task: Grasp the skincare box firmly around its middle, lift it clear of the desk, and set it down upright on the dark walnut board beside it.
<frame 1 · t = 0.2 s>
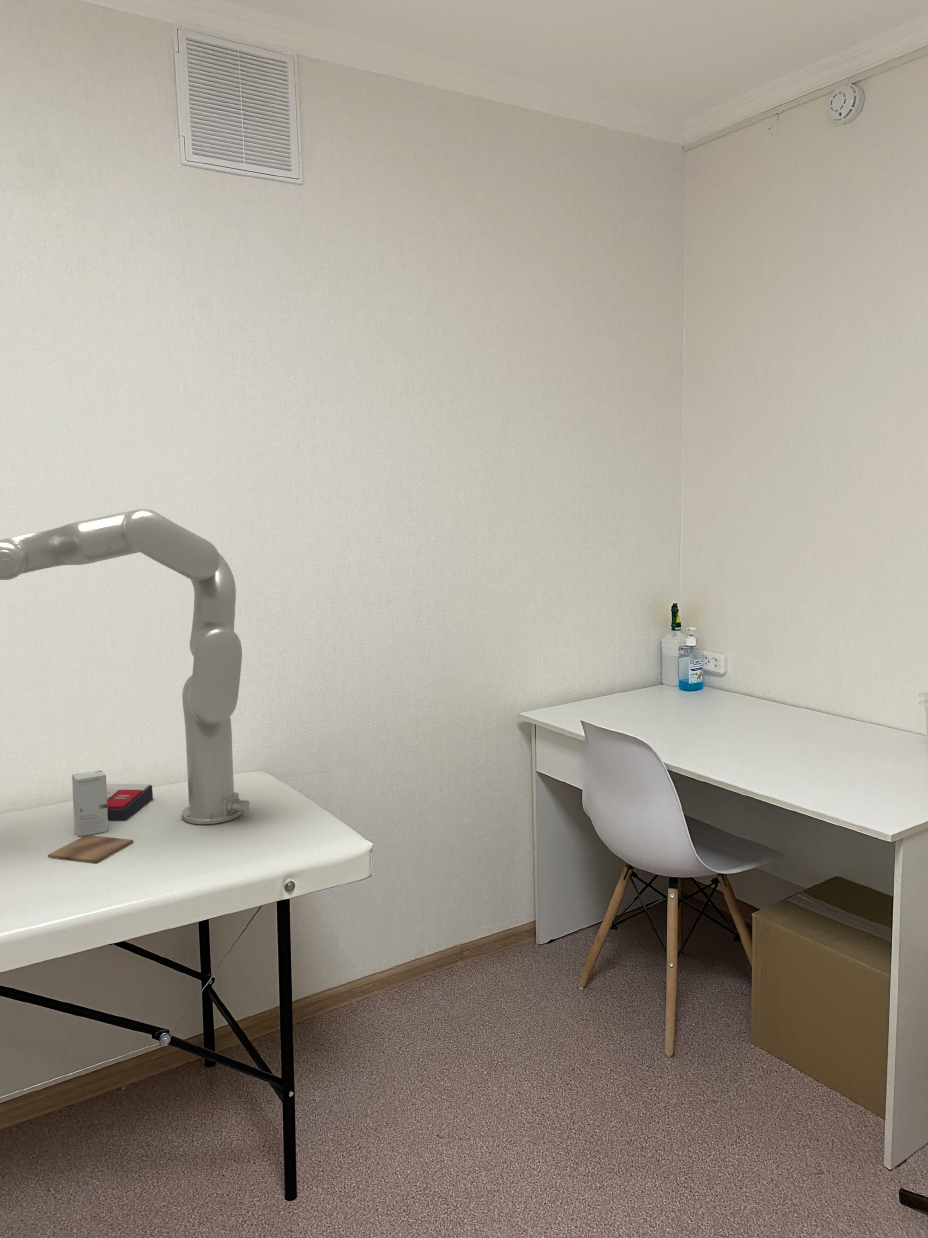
walnut board: (91, 850, 179), on the table
black and red case: (116, 811, 203), on the table
skincare box: (92, 832, 190), on the table
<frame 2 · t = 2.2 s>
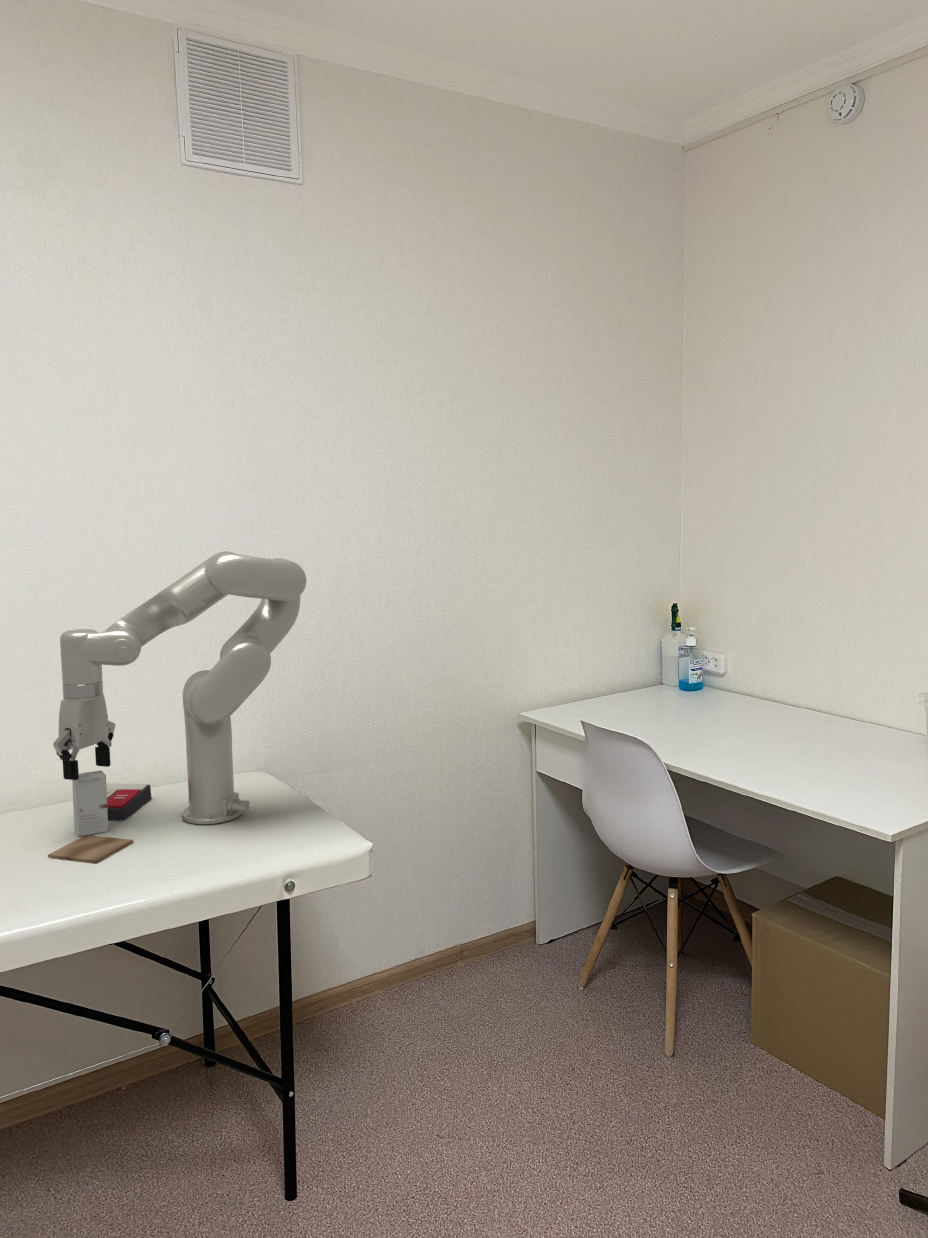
hand: (87, 772, 188), 12 cm above the table, tool pointing down, fingers open, 9 cm apart
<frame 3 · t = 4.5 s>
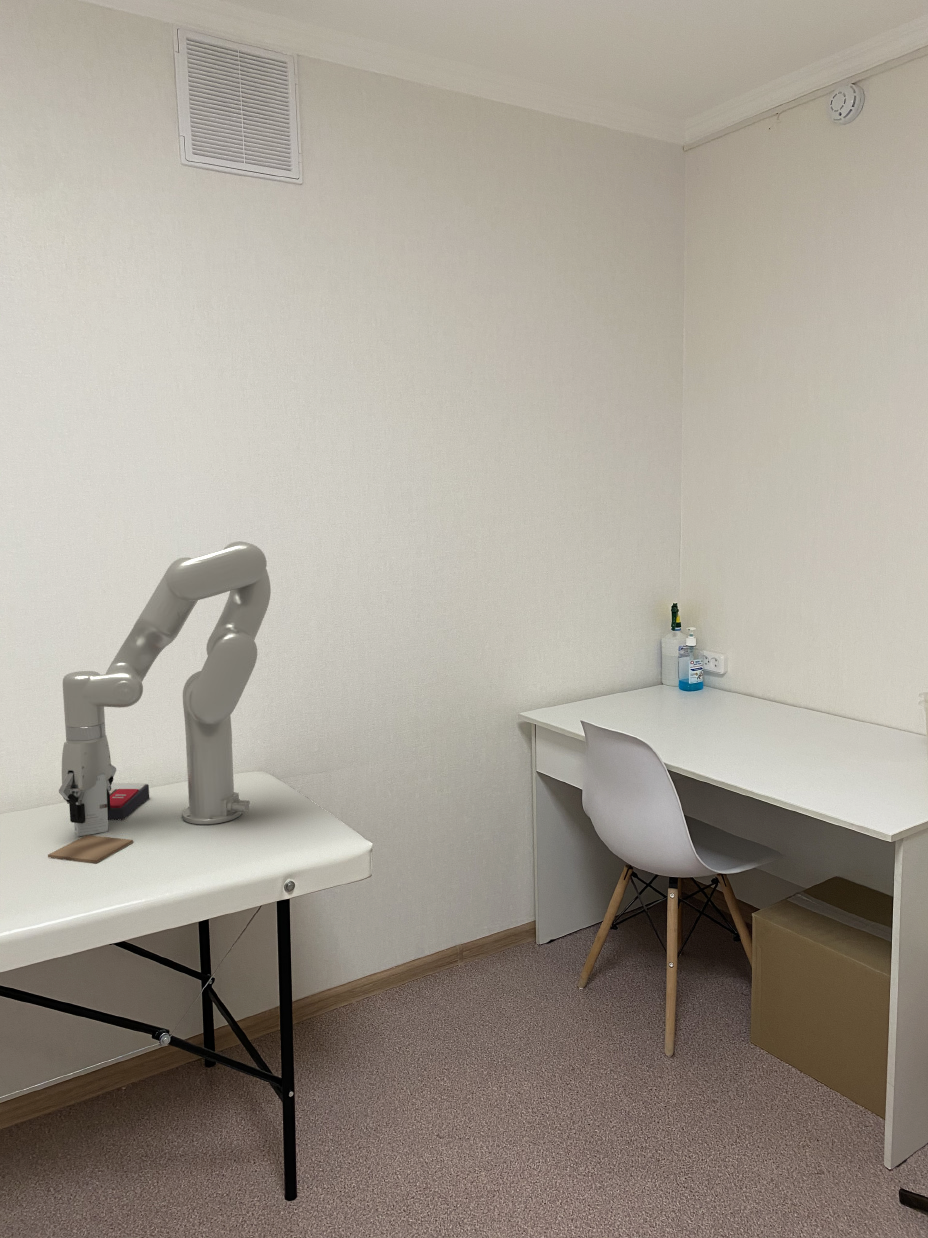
hand: (90, 815, 189), 3 cm above the table, tool pointing down, fingers closed on skincare box, 7 cm apart
skincare box: (92, 832, 190), on the table, touching gripper
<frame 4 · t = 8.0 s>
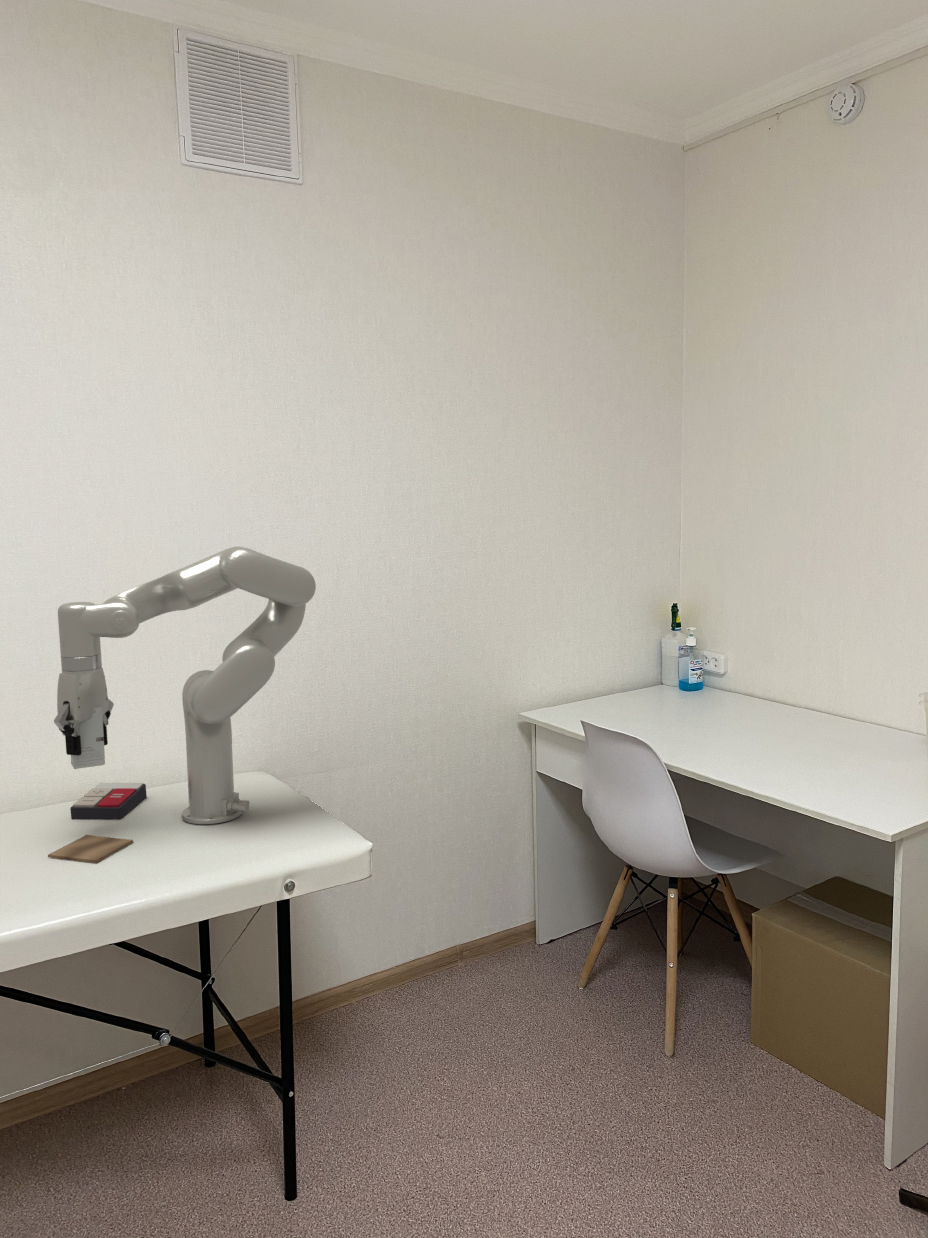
hand: (87, 749, 187), 18 cm above the table, tool pointing down, fingers closed on skincare box, 7 cm apart
skincare box: (88, 765, 187), point 14 cm above the table, touching gripper
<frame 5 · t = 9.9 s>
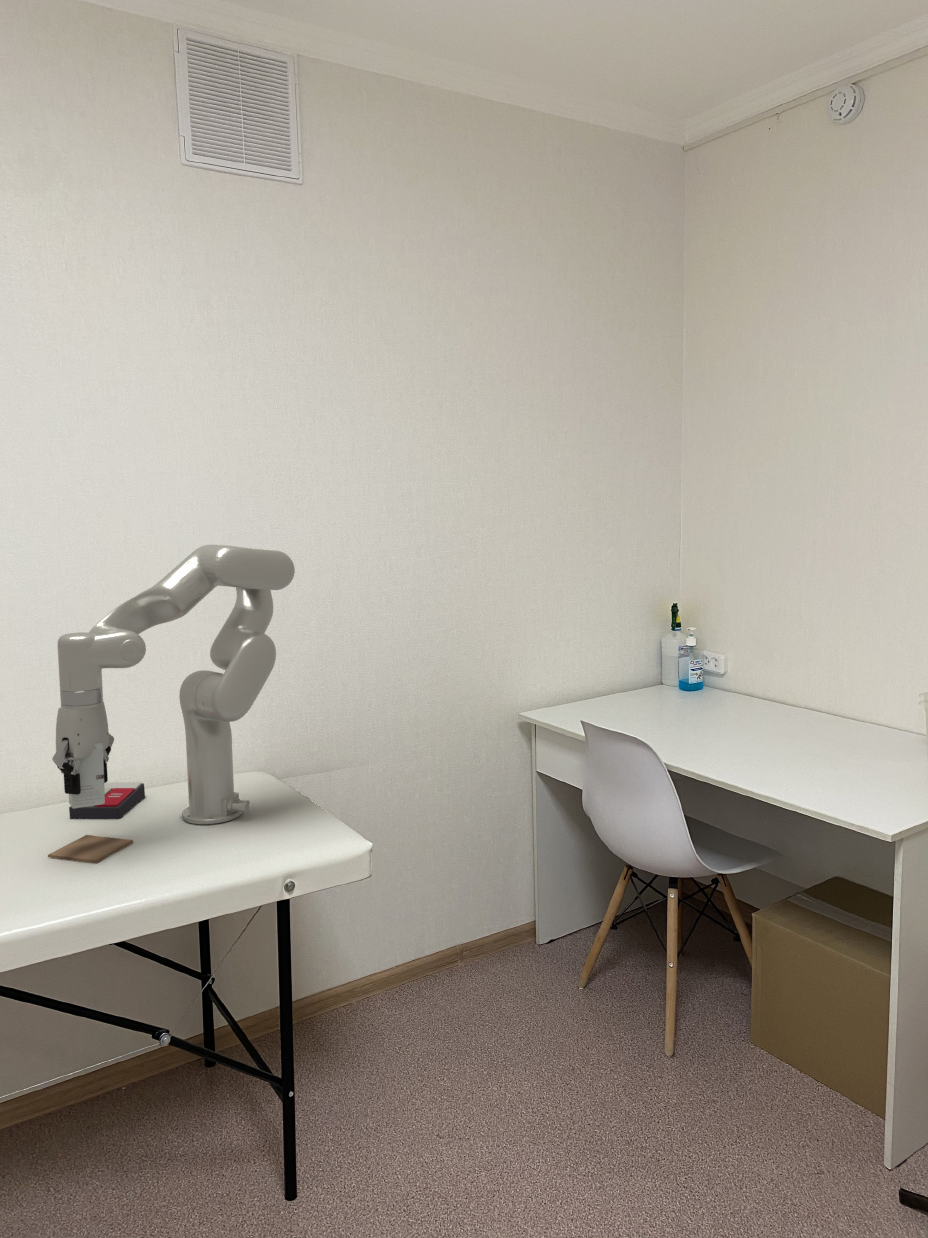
hand: (86, 787, 178), 13 cm above the table, tool pointing down, fingers closed on skincare box, 7 cm apart
skincare box: (87, 804, 178), point 9 cm above the table, touching gripper
when the fingers open (5 cm above the table, at t = 11.7 s): skincare box drops 1 cm, resting on walnut board.
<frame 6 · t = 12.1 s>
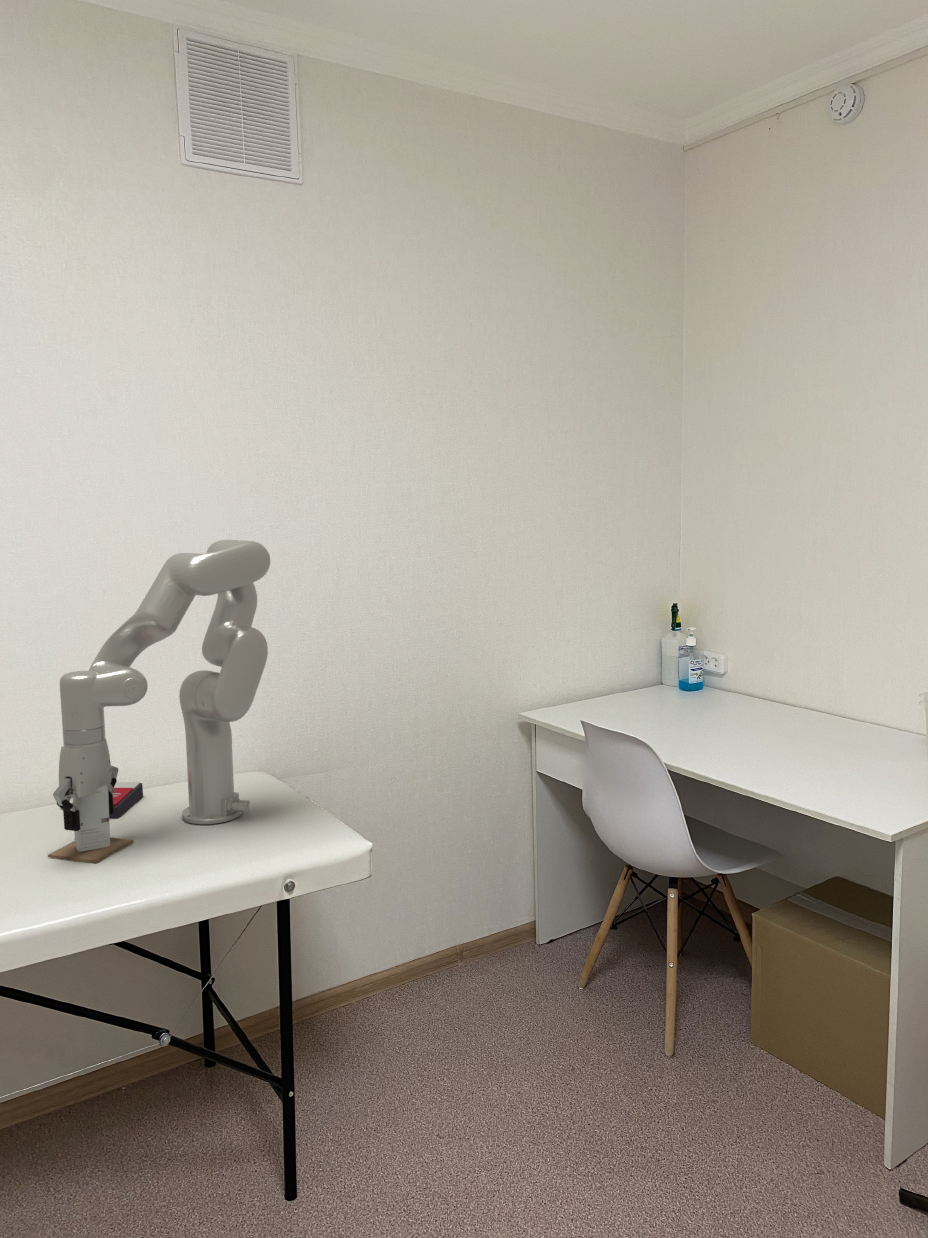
hand: (89, 821, 179), 6 cm above the table, tool pointing down, fingers open, 9 cm apart
skincare box: (93, 847, 180), resting on walnut board
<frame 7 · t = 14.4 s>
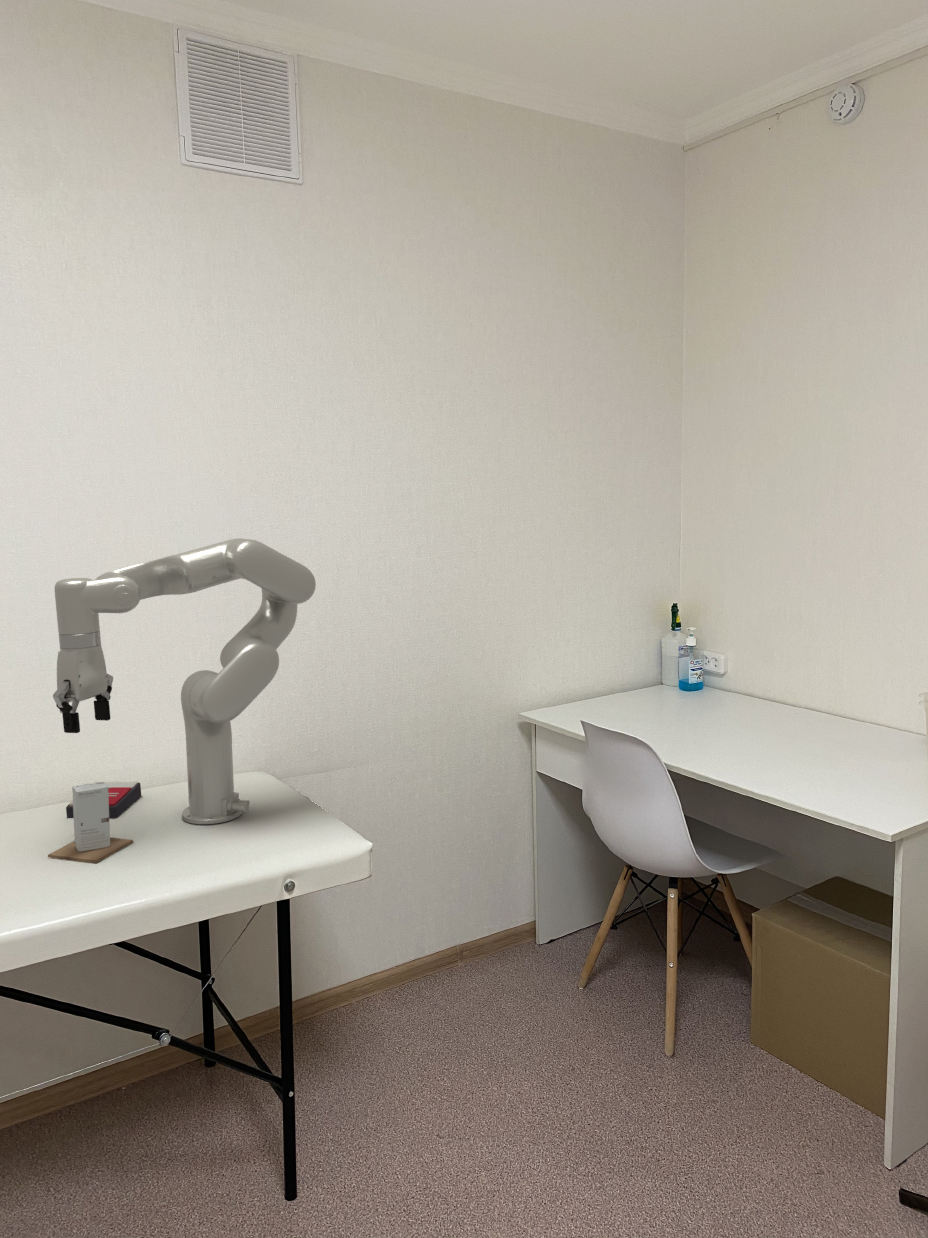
hand: (87, 726, 183), 23 cm above the table, tool pointing down, fingers open, 9 cm apart
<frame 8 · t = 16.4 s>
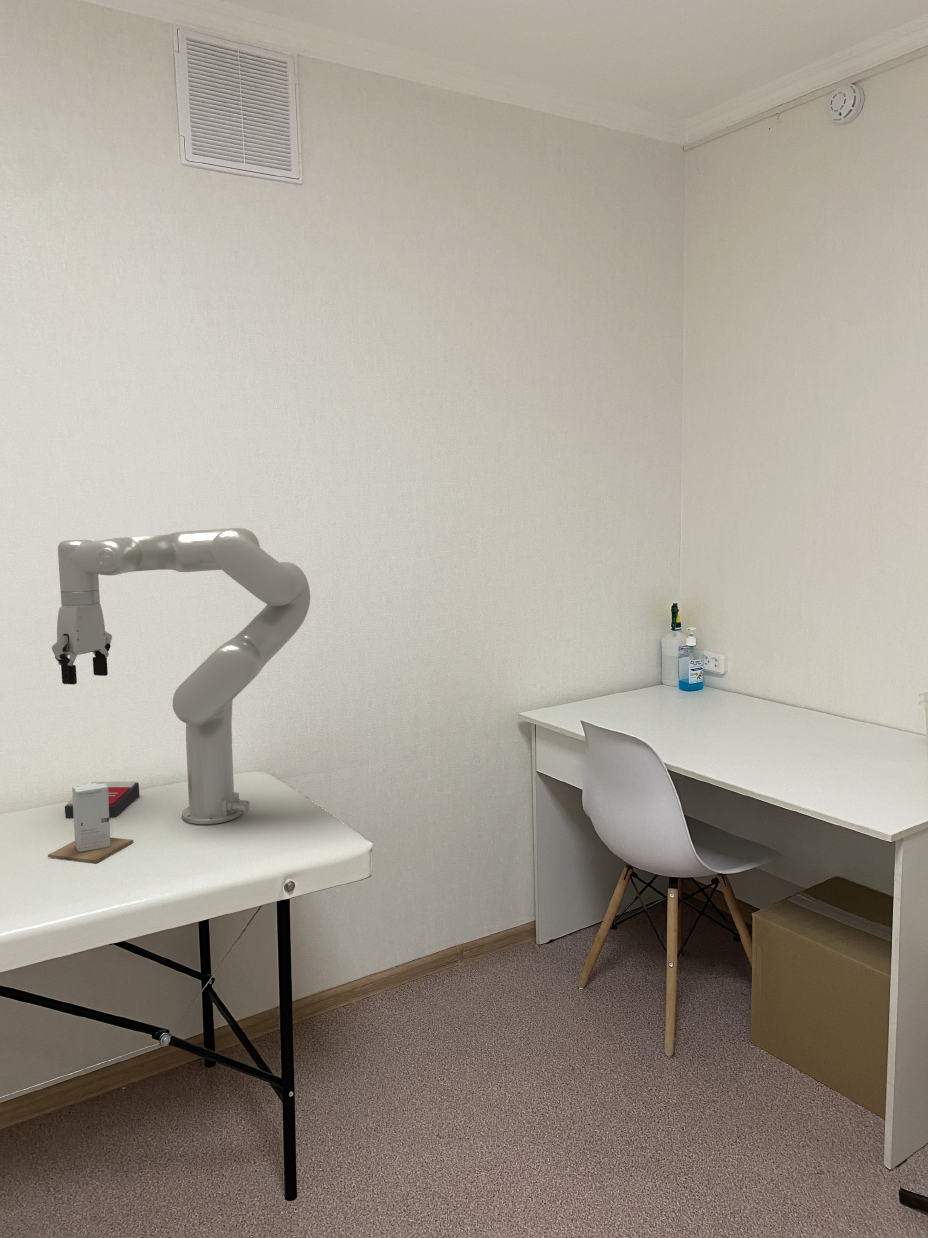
hand: (85, 679, 194), 30 cm above the table, tool pointing down, fingers open, 9 cm apart
at the end: skincare box inside the target area on the walnut board (0.5 cm from its centre), point 0.4 cm above the walnut board's base; skincare box tilted 0°; the gripper is holding nothing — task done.
